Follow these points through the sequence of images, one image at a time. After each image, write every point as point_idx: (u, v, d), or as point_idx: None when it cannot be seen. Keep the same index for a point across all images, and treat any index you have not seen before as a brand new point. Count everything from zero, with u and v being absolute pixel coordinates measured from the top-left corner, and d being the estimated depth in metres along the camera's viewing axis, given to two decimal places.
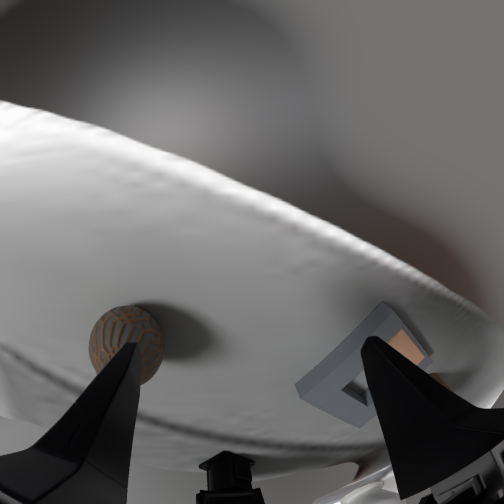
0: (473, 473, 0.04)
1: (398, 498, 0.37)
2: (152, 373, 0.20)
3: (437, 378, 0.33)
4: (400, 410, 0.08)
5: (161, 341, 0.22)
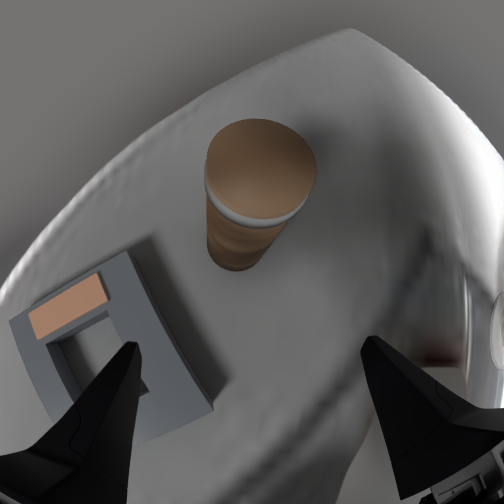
0: (473, 473, 0.04)
1: None
2: None
3: None
4: (400, 410, 0.08)
5: None
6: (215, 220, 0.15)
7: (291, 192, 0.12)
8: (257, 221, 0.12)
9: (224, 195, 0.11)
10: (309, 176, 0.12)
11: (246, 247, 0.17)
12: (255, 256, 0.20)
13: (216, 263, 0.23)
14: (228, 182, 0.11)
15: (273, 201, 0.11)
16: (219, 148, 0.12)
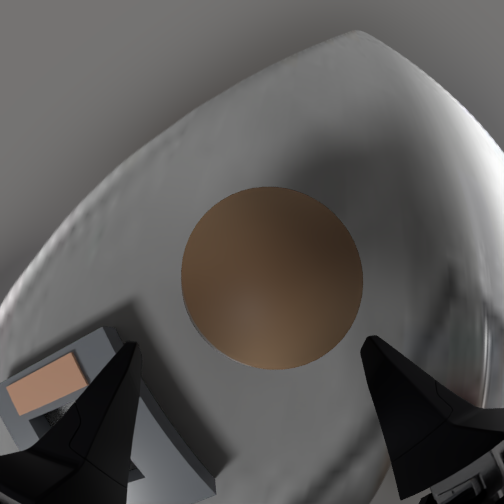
0: (473, 473, 0.04)
1: None
2: None
3: None
4: (400, 410, 0.08)
5: None
6: None
7: (324, 331, 0.07)
8: None
9: (215, 346, 0.07)
10: (352, 296, 0.07)
11: None
12: None
13: None
14: (220, 324, 0.07)
15: (296, 352, 0.07)
16: (202, 254, 0.07)
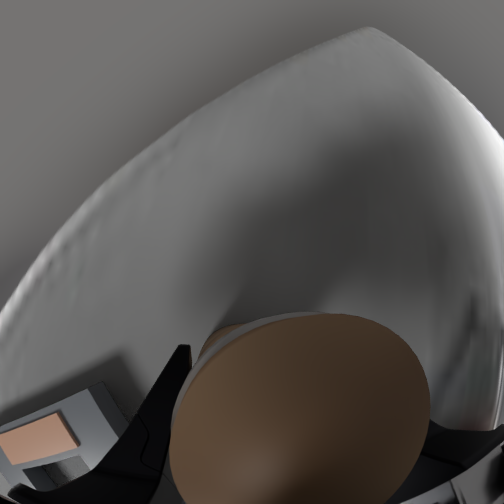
0: (431, 501, 0.04)
1: None
2: None
3: (204, 345, 0.15)
4: None
5: None
6: None
7: (370, 498, 0.03)
8: None
9: None
10: (411, 452, 0.04)
11: None
12: None
13: None
14: None
15: None
16: (201, 443, 0.03)
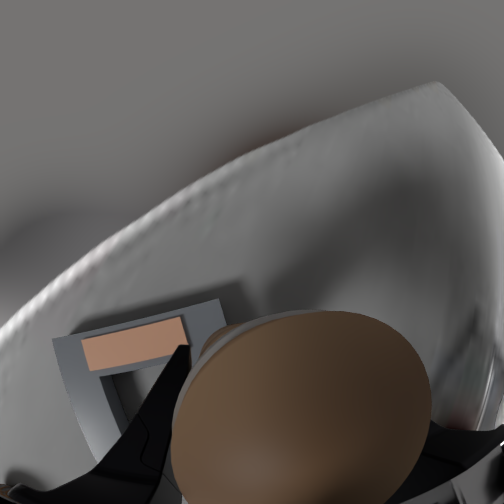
0: (431, 501, 0.04)
1: None
2: None
3: None
4: None
5: (6, 495, 0.09)
6: None
7: (372, 496, 0.03)
8: None
9: None
10: (413, 450, 0.04)
11: None
12: None
13: None
14: None
15: None
16: (202, 441, 0.03)
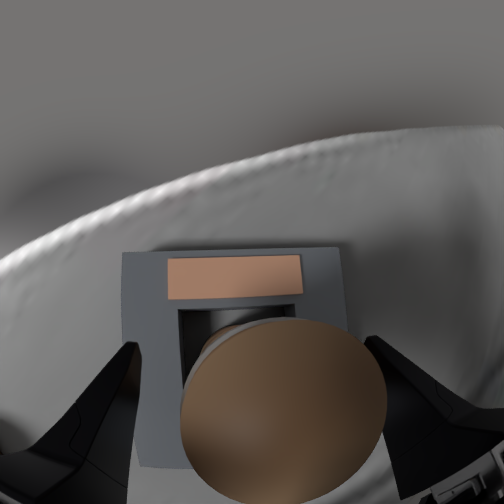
0: (473, 473, 0.04)
1: None
2: None
3: (204, 344, 0.16)
4: (400, 410, 0.08)
5: None
6: None
7: (338, 470, 0.05)
8: None
9: (223, 492, 0.05)
10: (372, 433, 0.05)
11: None
12: None
13: None
14: (228, 478, 0.05)
15: (307, 491, 0.05)
16: (203, 414, 0.05)
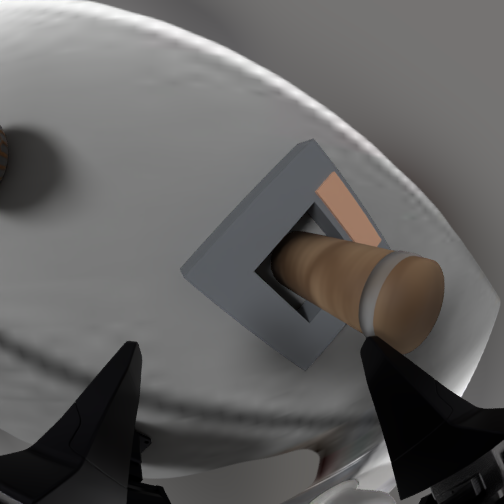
0: (473, 473, 0.04)
1: (384, 496, 0.29)
2: None
3: (302, 234, 0.22)
4: (400, 410, 0.08)
5: (0, 145, 0.11)
6: (340, 289, 0.14)
7: (408, 344, 0.12)
8: None
9: (386, 319, 0.11)
10: (421, 339, 0.12)
11: (327, 311, 0.17)
12: None
13: (271, 263, 0.23)
14: (396, 312, 0.11)
15: (398, 345, 0.12)
16: (413, 277, 0.11)
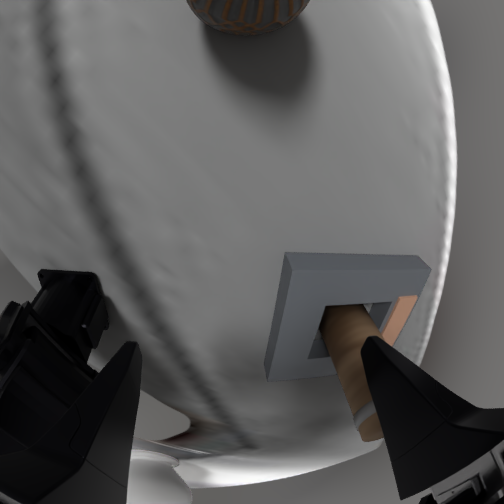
0: (473, 473, 0.04)
1: (189, 494, 0.37)
2: (268, 9, 0.09)
3: (364, 308, 0.24)
4: (400, 410, 0.08)
5: (292, 19, 0.11)
6: None
7: (369, 437, 0.15)
8: (361, 421, 0.16)
9: None
10: (373, 439, 0.16)
11: (343, 375, 0.20)
12: (330, 356, 0.23)
13: None
14: None
15: (368, 434, 0.15)
16: None
